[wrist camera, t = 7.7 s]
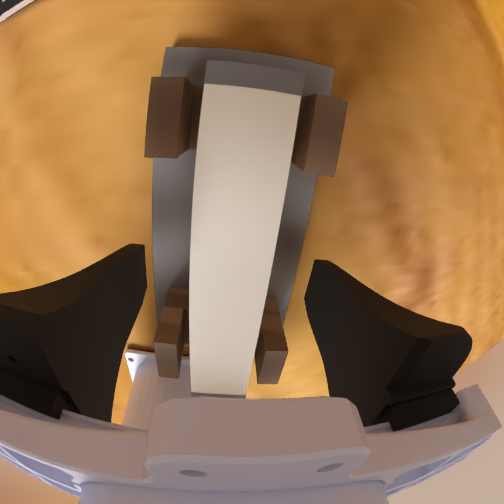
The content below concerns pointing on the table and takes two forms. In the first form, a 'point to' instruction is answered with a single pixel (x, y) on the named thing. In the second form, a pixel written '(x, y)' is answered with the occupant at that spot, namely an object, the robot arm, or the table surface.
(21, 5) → the gaming console
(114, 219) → the table surface
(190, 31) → the table surface
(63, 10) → the table surface
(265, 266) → the rail
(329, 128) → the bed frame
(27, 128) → the table surface
